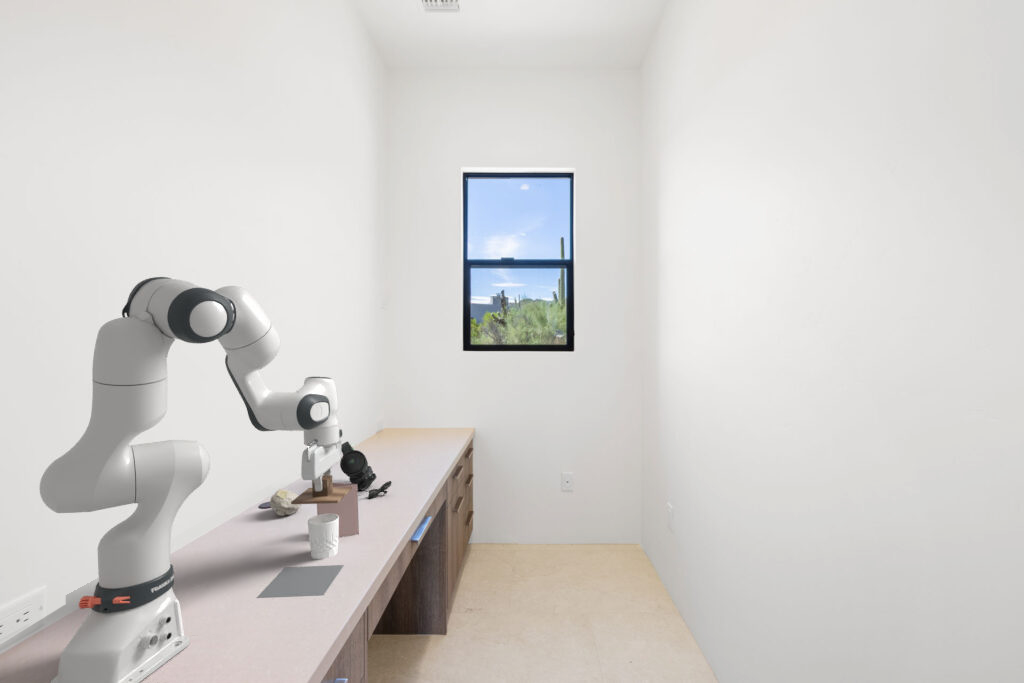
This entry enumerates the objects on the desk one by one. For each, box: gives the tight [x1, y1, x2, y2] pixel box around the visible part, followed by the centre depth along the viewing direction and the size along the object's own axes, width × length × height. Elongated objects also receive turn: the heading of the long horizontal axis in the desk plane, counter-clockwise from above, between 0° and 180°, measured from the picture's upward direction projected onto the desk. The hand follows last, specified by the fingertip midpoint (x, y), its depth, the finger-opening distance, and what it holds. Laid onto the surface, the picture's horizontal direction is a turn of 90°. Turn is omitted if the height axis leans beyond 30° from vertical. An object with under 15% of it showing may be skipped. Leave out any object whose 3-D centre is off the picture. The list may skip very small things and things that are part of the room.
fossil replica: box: [269, 488, 302, 517], centre depth 171 cm, size 12×8×10 cm
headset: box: [339, 441, 392, 499], centre depth 195 cm, size 18×14×29 cm
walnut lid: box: [291, 474, 352, 505], centre depth 136 cm, size 12×12×5 cm
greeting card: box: [316, 482, 360, 538], centre depth 149 cm, size 11×7×15 cm, turn 74°
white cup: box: [307, 514, 340, 560], centre depth 136 cm, size 8×8×10 cm
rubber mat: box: [256, 564, 344, 599], centre depth 121 cm, size 15×15×1 cm
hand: (323, 487), depth 136 cm, fingers closed on walnut lid, 4 cm apart
